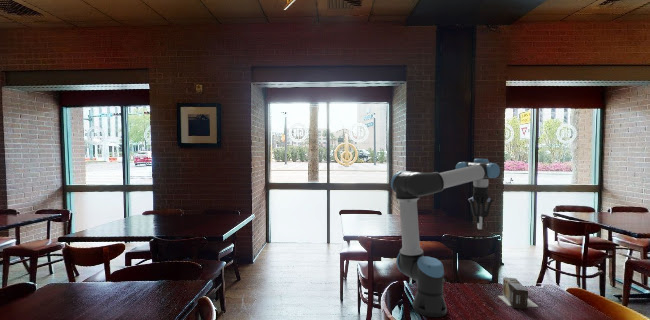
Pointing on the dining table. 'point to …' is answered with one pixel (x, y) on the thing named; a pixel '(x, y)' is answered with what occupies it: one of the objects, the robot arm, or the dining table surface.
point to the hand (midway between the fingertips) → (479, 228)
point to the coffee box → (515, 293)
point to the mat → (529, 304)
